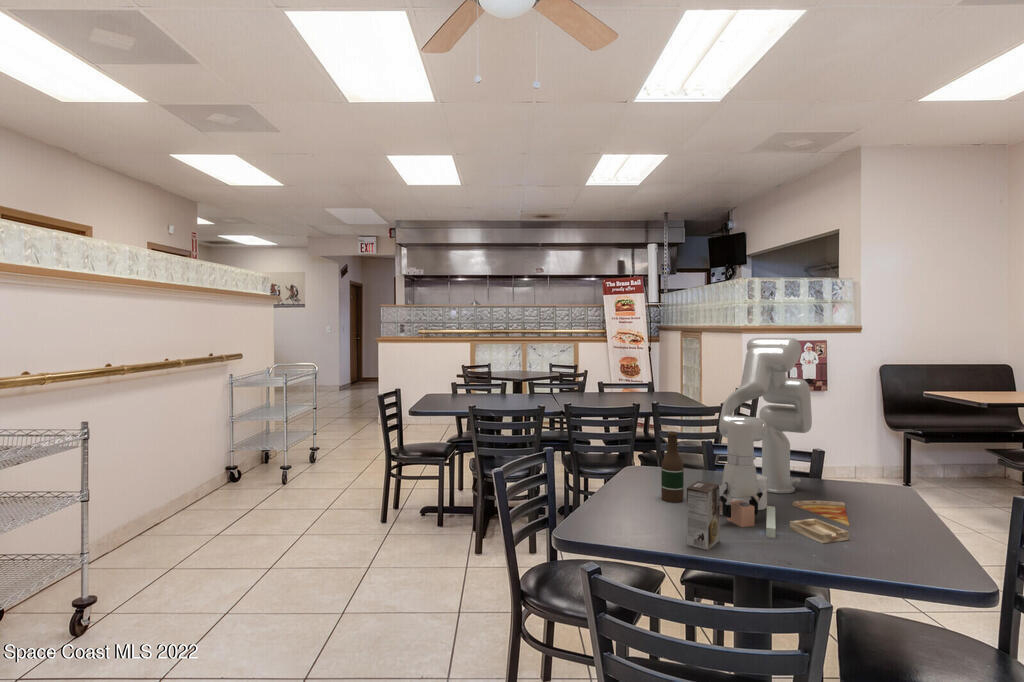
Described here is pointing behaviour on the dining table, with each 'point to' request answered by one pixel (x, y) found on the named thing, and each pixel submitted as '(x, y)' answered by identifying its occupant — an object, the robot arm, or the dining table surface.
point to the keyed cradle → (819, 530)
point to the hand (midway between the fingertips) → (740, 515)
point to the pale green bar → (770, 522)
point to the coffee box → (703, 515)
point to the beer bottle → (672, 472)
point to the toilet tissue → (761, 480)
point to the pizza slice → (825, 509)
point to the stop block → (741, 513)
